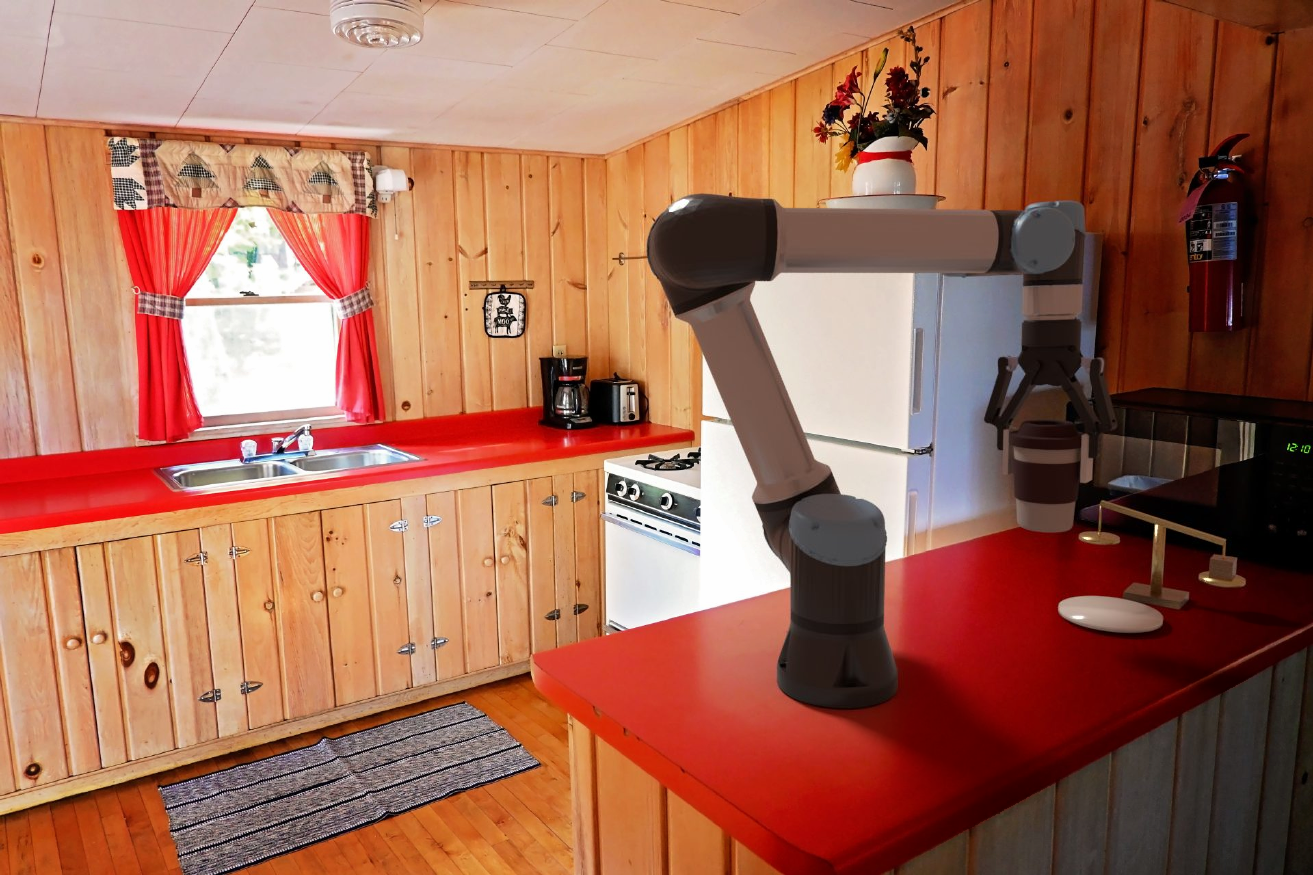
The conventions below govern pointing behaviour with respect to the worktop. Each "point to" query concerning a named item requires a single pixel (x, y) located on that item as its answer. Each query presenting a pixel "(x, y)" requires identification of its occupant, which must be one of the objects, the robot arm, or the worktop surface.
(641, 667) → the worktop surface
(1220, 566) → the balance
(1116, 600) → the saucer
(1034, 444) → the coffee cup
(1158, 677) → the worktop surface
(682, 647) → the worktop surface
